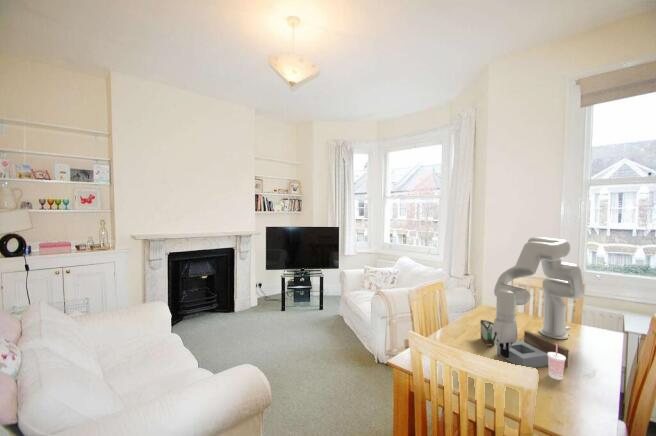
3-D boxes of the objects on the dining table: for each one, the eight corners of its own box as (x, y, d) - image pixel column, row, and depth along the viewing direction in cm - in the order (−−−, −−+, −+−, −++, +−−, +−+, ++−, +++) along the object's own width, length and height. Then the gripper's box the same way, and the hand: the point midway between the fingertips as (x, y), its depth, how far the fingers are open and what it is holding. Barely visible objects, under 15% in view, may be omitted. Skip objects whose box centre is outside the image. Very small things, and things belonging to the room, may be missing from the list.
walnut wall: (527, 346, 149) (527, 330, 148) (567, 367, 129) (568, 349, 129) (523, 346, 148) (524, 331, 148) (564, 367, 129) (565, 350, 128)
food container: (501, 349, 145) (501, 330, 144) (487, 348, 146) (488, 328, 146) (492, 338, 157) (492, 320, 156) (479, 337, 158) (480, 319, 158)
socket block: (520, 350, 144) (520, 340, 144) (548, 365, 130) (548, 354, 130) (497, 353, 140) (497, 343, 140) (522, 369, 127) (523, 358, 127)
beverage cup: (568, 381, 119) (569, 348, 118) (551, 380, 120) (552, 346, 119) (559, 373, 125) (560, 341, 124) (543, 371, 126) (544, 339, 125)
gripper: (512, 312, 137) (510, 350, 138) (485, 315, 134) (484, 354, 135) (526, 318, 130) (525, 358, 131) (498, 321, 127) (497, 362, 127)
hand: (504, 356), depth 133 cm, fingers closed
